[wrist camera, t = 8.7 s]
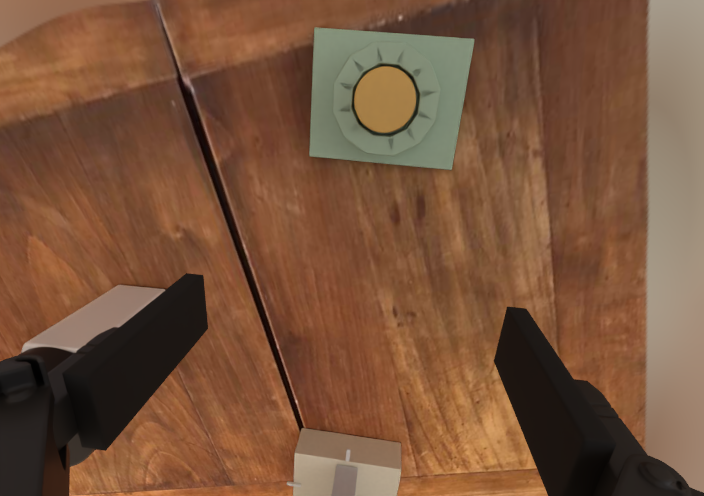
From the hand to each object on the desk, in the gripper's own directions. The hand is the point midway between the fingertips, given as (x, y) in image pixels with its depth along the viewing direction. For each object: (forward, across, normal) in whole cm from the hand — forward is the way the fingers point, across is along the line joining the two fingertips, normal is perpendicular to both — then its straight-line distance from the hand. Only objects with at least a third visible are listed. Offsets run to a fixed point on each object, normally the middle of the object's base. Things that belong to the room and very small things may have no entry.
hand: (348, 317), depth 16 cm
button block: (+14, +1, +9) cm, 17 cm away
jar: (+14, -20, -12) cm, 27 cm away
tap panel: (+14, 0, -26) cm, 29 cm away
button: (+11, +1, +9) cm, 14 cm away
